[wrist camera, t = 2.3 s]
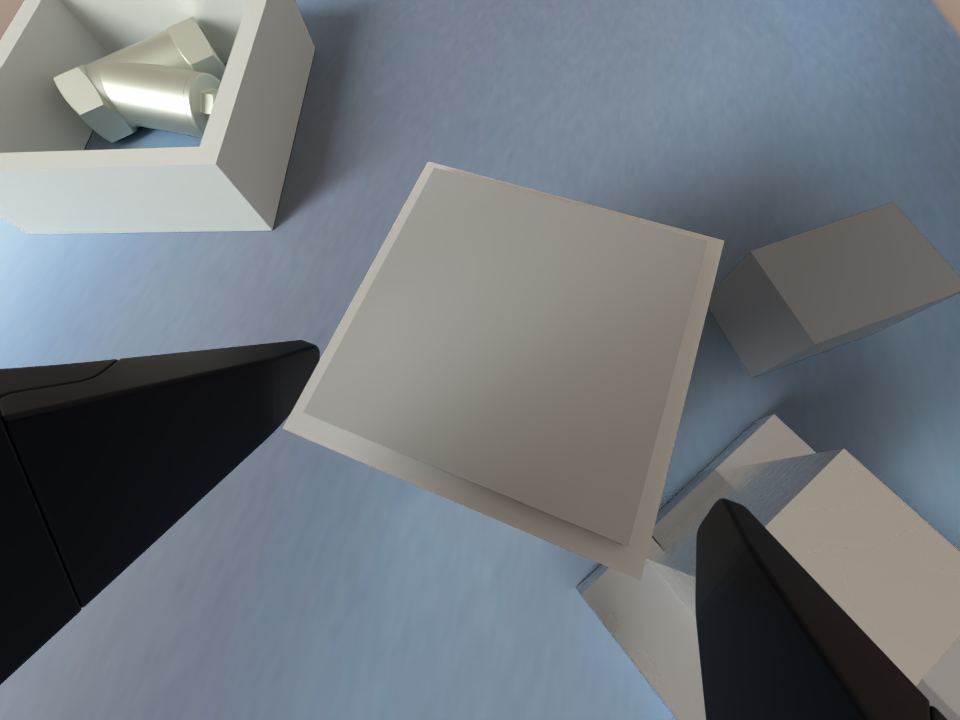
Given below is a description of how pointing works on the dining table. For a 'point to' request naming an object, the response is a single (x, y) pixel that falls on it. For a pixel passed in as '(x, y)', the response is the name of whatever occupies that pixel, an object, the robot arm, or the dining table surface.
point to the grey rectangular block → (829, 288)
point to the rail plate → (816, 547)
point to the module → (520, 360)
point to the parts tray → (149, 171)
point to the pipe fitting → (149, 85)
